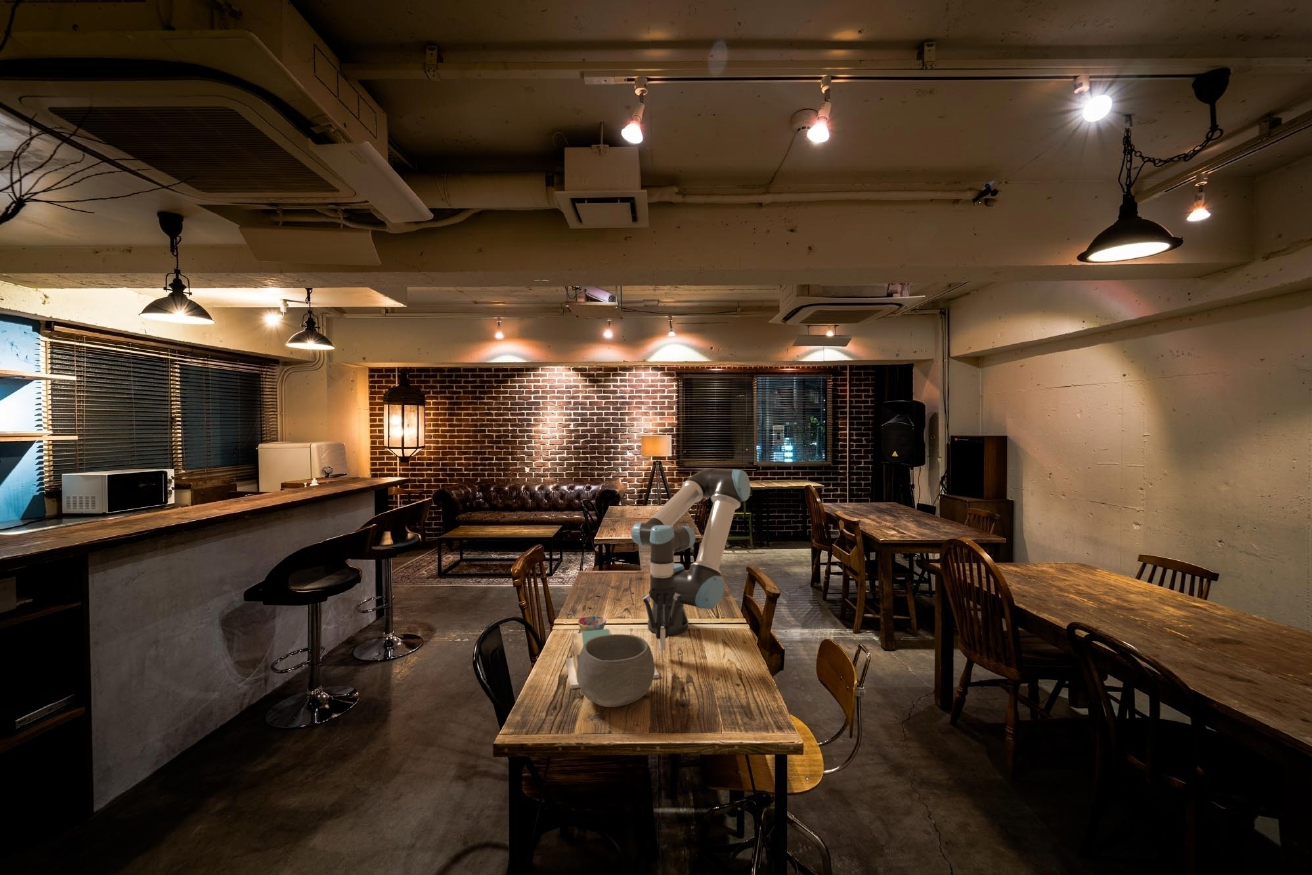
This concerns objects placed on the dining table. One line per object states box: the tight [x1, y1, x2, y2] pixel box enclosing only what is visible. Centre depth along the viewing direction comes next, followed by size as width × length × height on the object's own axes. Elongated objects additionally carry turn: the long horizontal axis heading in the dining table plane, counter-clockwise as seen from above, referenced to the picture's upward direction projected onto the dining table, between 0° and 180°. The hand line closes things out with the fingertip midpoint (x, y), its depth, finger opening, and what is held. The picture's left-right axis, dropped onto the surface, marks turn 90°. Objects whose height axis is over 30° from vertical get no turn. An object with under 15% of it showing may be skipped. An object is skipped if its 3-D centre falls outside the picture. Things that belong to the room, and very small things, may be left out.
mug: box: [577, 615, 607, 633], centre depth 172 cm, size 12×9×11 cm
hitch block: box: [565, 629, 660, 689], centre depth 159 cm, size 26×18×9 cm
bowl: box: [577, 633, 656, 708], centre depth 141 cm, size 21×21×15 cm
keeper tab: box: [582, 628, 610, 646], centre depth 153 cm, size 8×6×1 cm
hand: (661, 648), depth 166 cm, fingers closed
